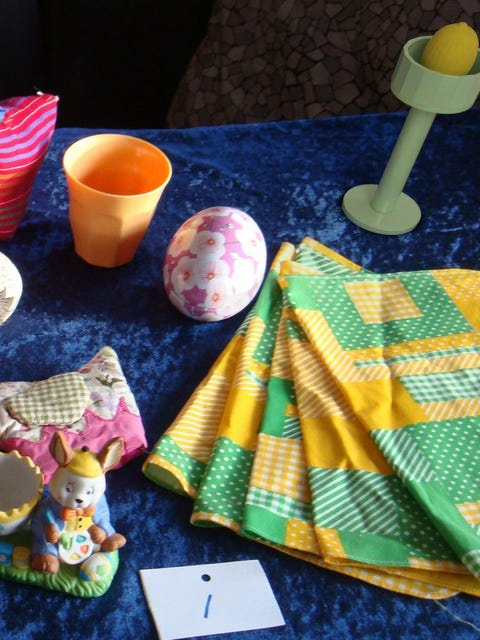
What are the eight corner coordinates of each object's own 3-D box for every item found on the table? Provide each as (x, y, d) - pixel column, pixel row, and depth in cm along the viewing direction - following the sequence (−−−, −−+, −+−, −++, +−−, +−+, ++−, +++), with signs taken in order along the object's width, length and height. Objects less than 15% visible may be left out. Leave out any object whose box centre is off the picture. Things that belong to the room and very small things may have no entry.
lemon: (463, 83, 100) (493, 18, 94) (454, 105, 97) (485, 39, 91) (416, 71, 102) (442, 6, 96) (406, 92, 98) (432, 26, 93)
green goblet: (428, 208, 114) (504, 52, 97) (403, 246, 108) (479, 87, 92) (357, 181, 118) (418, 26, 101) (329, 216, 112) (389, 59, 96)
